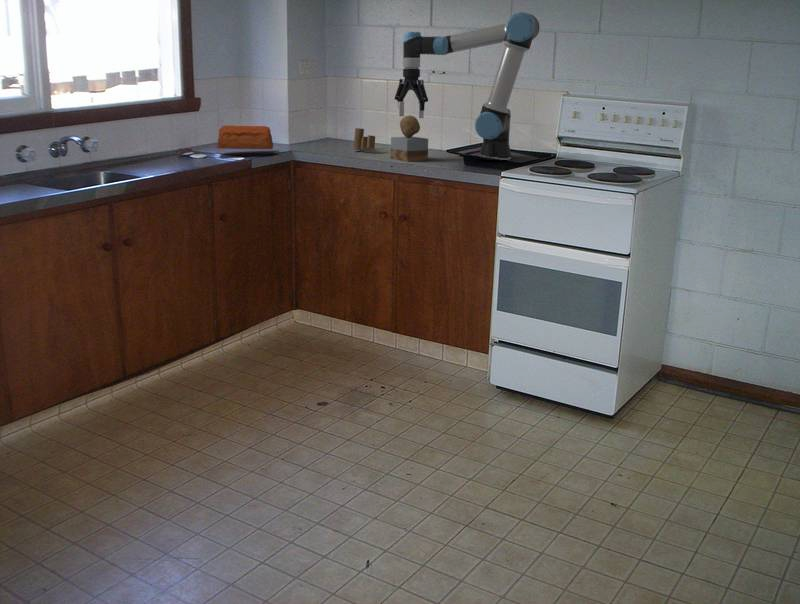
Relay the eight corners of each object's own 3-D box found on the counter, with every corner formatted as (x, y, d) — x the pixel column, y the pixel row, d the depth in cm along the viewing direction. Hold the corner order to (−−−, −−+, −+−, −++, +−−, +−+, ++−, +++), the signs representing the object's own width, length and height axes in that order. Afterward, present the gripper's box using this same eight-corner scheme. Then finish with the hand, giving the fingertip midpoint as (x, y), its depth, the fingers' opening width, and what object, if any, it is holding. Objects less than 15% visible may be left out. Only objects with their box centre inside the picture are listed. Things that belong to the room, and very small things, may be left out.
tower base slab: (427, 160, 398) (428, 149, 397) (407, 162, 391) (407, 151, 390) (410, 158, 407) (411, 147, 406) (390, 159, 400) (390, 148, 399)
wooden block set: (377, 152, 423) (379, 131, 421) (360, 151, 420) (362, 129, 418) (365, 149, 440) (367, 128, 437) (349, 148, 436) (351, 127, 434)
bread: (219, 145, 436) (218, 124, 433) (273, 146, 439) (273, 125, 436) (216, 149, 421) (215, 126, 418) (272, 150, 424) (272, 127, 421)
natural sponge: (415, 137, 402) (416, 114, 399) (422, 139, 394) (423, 116, 391) (396, 136, 399) (397, 114, 396) (403, 138, 391) (404, 116, 388)
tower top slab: (428, 149, 397) (428, 138, 395) (407, 151, 390) (407, 139, 388) (411, 147, 406) (411, 136, 405) (390, 148, 399) (391, 137, 398)
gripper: (436, 68, 381) (435, 118, 387) (400, 67, 399) (399, 115, 405) (423, 68, 376) (422, 119, 382) (387, 67, 395) (386, 115, 401)
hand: (410, 117), depth 394 cm, fingers open, 13 cm apart
